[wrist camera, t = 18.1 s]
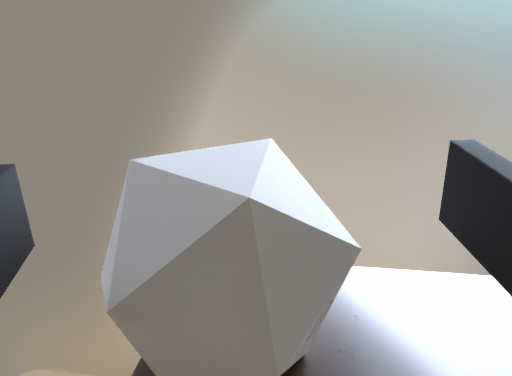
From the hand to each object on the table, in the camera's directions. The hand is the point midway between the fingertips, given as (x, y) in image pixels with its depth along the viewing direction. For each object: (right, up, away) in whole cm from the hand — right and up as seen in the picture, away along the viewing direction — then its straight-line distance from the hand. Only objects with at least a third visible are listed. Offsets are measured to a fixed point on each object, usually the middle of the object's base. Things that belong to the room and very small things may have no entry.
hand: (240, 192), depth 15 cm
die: (-1, -6, +5) cm, 8 cm away
